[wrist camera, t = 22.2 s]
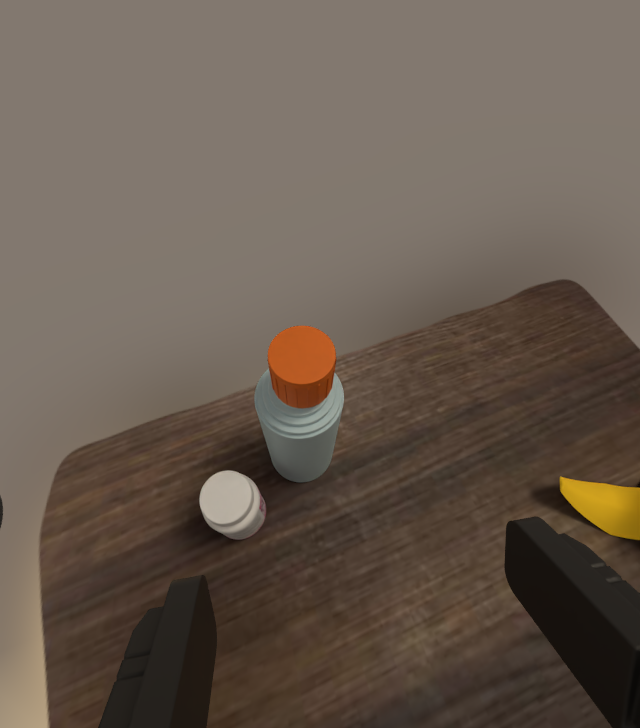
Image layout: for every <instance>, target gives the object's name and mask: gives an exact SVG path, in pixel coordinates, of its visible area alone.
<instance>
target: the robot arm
mask: <svg viewBox="0 0 640 728" xmlns="http://www.w3.org/2000/svg"><path fill="white" fill-rule="evenodd" d="M505 574H506V578H507V581H508V583H509V586H510V588H511V590H512V591H513V593H514V594H515V596H516V597H517V598H518V600H519V601H520V603H521V604H522V605H523V607H524V608H525V609H526V611H527V612H528V613H529V615H530V616H531V617H532V619H533V620H534V622H535V623H536V624H537V626H538V627H539V628H540V630H541V631H542V632H543V634H544V635H545V636H546V638H547V639H548V641H549V642H550V643H551V645H552V646H553V647H554V649H555V650H556V651H557V653H558V654H559V655H560V657H561V658H562V660H563V661H564V662H565V664H566V665H567V666H568V668H569V669H570V670H571V672H572V673H573V675H574V676H575V677H576V679H577V680H578V681H579V683H580V684H581V685H582V687H583V688H584V689H585V691H586V692H587V694H588V695H589V696H590V698H591V699H592V700H593V702H594V703H595V704H596V706H597V707H598V708H599V710H600V711H601V713H602V714H603V715H604V717H605V718H606V719H607V721H608V722H609V723H610V725H611V726H612V727H613V728H640V593H638V592H637V591H636V590H635V589H634V588H633V587H632V586H631V585H630V584H628V583H627V582H626V581H623V580H622V579H621V576H620V575H618V574H617V573H616V572H615V571H614V570H613V569H612V568H611V567H610V566H606V564H605V562H604V561H603V560H602V559H601V558H600V557H598V556H597V555H596V554H595V553H594V552H593V551H592V550H591V549H590V548H588V547H587V546H586V545H584V544H582V543H580V542H579V541H577V540H575V539H573V538H571V537H570V536H568V535H566V534H557V533H556V532H555V531H554V530H553V529H552V528H551V527H550V526H549V525H548V524H547V523H546V522H545V521H544V520H542V519H541V518H539V517H531V518H525V519H519V520H514V521H509V522H508V524H507V527H506V546H505ZM216 646H217V632H216V622H215V617H214V613H213V608H212V603H211V599H210V594H209V590H208V585H207V581H206V578H205V576H204V575H201V576H195V577H189V578H184V579H178V580H173V581H172V582H171V584H170V587H169V591H168V594H167V597H166V601H165V604H164V606H163V607H158V608H152V609H149V610H148V612H147V613H146V614H145V616H144V617H143V618H142V620H141V621H140V622H139V624H138V625H137V626H136V628H135V629H134V630H133V633H132V635H131V638H130V641H129V644H128V646H127V649H126V652H125V655H124V660H122V663H121V666H120V669H119V671H118V674H117V681H116V682H115V683H114V685H113V688H112V691H111V694H110V697H109V699H108V702H107V705H106V708H105V710H104V713H103V716H102V719H101V722H100V724H99V727H98V728H206V726H207V718H208V710H209V703H210V695H211V687H212V679H213V672H214V664H215V656H216Z"/></svg>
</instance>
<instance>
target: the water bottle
mask: <svg viewBox="0 0 640 728" xmlns="http://www.w3.org/2000/svg"><path fill="white" fill-rule="evenodd" d="M254 397H255V408H256V411H257V414H258V417H259V421H260V424H261V427H262V431H263V434H264V437H265V440H266V444H267V447H268V450H269V454H270V457H271V460H272V463H273V465H274V467H275V469H276V470H277V472H278V473H279V474H280V475H281V476H283V477H284V478H286V479H288V480H290V481H293V482H308V481H312V480H314V479H316V478H318V477H319V476H321V475H322V474H323V473H324V472H325V471H326V470H327V468H328V467H329V465H330V462H331V459H332V455H333V450H334V446H335V441H336V436H337V432H338V427H339V422H340V418H341V413H342V408H343V403H344V392H343V388H342V384H341V382H340V380H339V378H338V377H337V375H336V374H335V373H334V379H333V385H332V389H331V391H330V393H329V395H328V396H327V398H325V400H324V401H322V402H321V403H320V404H318V405H316V406H313V407H310V408H303V409H302V408H294V407H291V406H289V405H286V404H285V403H283V402H282V401H281V400H280V399H278V397H277V395H276V393H275V391H274V390H273V388H272V382H271V377H270V371H269V369H268V370H267V371H266V372H265V373H264V374H263V375H262V377H261V378H260V380H259V382H258V384H257V386H256V390H255V396H254Z"/></svg>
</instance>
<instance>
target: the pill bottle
mask: <svg viewBox="0 0 640 728" xmlns="http://www.w3.org/2000/svg"><path fill="white" fill-rule="evenodd" d="M199 502H200V508H201V510H202V513H203V516H204V519H205V521H206V522H207V523H208V525H209V526H210V527H211V528H213V529H214V530H216V531H218V532H220V533H222V534H224V535H225V536H226V537H229V538H231V539H236V540H241V539H246V538H248V537H251V536H252V535H254V534H255V533H256V532H257V531H258V530H259V529H260V528H261V526H262V525H263V523H264V520H265V517H266V505H265V501H264V499H263V497H262V495H261V493H260V491H259V489H258V487H257V486H256V484H255V483H254V482H253V481H252V480H251V479H250V478H249V477H247V476H245V475H243V474H240V473H238V472H236V471H230V470H226V471H221V472H218V473H216V474H214V475H213V476H211V477H210V478H209V479H208V480H207V481H206V483H205V484H204V486H203V487H202V490H201V493H200V499H199Z"/></svg>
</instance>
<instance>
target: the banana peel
mask: <svg viewBox="0 0 640 728" xmlns="http://www.w3.org/2000/svg"><path fill="white" fill-rule="evenodd" d="M560 491H561V492H562V494H563V495H564V497H565V498H566V499H567V500H568V502H569V503H570V504H571V505H572V506H573V507H574V508H575V509H576V510H577V511H578V512H579V513H581V514H582V515H583V516H584V517H585V518H587V519H588V520H589V521H590V522H592V523H593V524H595V525H596V526H597V527H599V528H600V529H602V530H604V531H605V532H607V533H608V534H610V535H614V536H618V537H623V538H628V539H635V540H640V488H634V487H621V486H615V485H610V484H605V483H593V482H584V481H577V480H572V479H567V478H564V477H560Z"/></svg>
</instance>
